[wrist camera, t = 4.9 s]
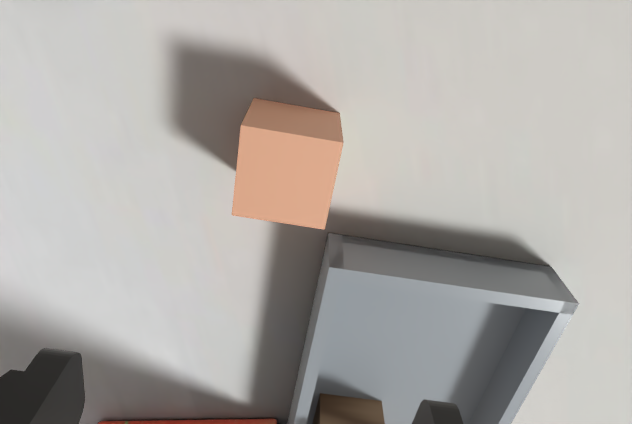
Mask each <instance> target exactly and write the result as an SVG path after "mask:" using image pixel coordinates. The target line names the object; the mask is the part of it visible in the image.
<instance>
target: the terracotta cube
mask: <svg viewBox="0 0 632 424" xmlns="http://www.w3.org/2000/svg"><path fill="white" fill-rule="evenodd" d="M342 147H343V135H342V128H341V120H340V113H336V112H331V111H325V110H319V109H314V108H308V107H302V106H297V105H291V104H285V103H279V102H274V101H268V100H262V99H257V98H253V101H252V103H251V105H250V107H249V109H248V111H247V113H246V115H245V117H244V120H243V122H242V124H241V128H240V138H239V148H238V158H237V168H236V178H235V188H234V198H233V207H232V215H233V216H240V217H246V218H253V219H259V220H266V221H272V222H279V223H285V224H291V225H298V226H304V227H311V228H317V229H324V230H325V226H326V221H327V217H328V212H329V207H330V203H331V198H332V193H333V189H334V184H335V179H336V175H337V170H338V166H339V161H340V156H341V152H342Z"/></svg>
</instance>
